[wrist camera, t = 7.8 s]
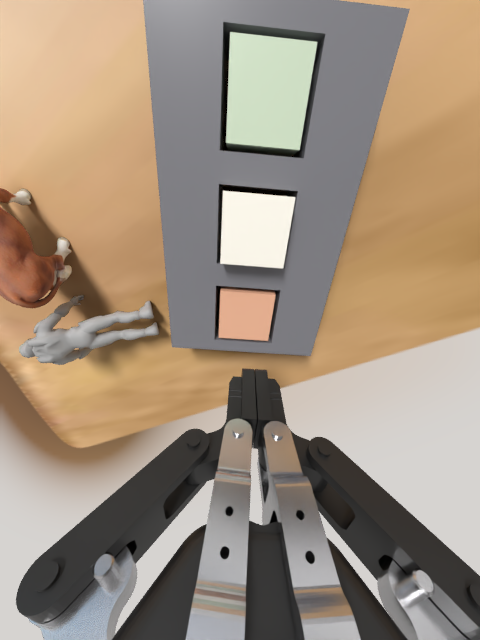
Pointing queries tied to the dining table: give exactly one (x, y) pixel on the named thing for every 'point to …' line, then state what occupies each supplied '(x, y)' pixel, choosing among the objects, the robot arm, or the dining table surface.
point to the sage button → (267, 93)
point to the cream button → (255, 229)
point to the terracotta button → (245, 313)
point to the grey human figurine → (82, 334)
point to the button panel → (257, 169)
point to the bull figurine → (27, 260)
